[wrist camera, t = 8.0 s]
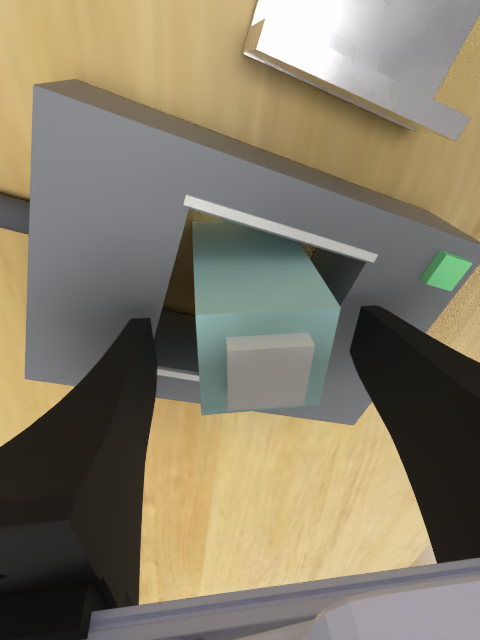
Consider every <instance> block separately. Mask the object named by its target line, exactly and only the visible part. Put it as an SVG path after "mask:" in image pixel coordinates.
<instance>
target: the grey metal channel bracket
mask: <svg viewBox="0 0 480 640" xmlns="http://www.w3.org/2000/svg"><path fill="white" fill-rule="evenodd" d="M479 14H480V0H257V2H256V6H255V9H254V13H253V16H252V20H251V23H250V27H249V31H248V34H247V38H246V41H245V45H244V48H243V52H242V54H243V55H245V56H247V57H249V58H252V59H254V60H256V61H258V62H260V63H263V64H265V65H267V66H269V67H272V68H274V69H276V70H278V71H280V72H283V73H285V74H287V75H289V76H292V77H294V78H296V79H298V80H300V81H303V82H305V83H307V84H309V85H311V86H314V87H316V88H318V89H320V90H323V91H325V92H327V93H329V94H331V95H334V96H336V97H338V98H340V99H343V100H345V101H347V102H349V103H351V104H354V105H356V106H358V107H360V108H363V109H365V110H367V111H369V112H371V113H374V114H376V115H378V116H380V117H383V118H385V119H387V120H389V121H391V122H394V123H396V124H398V125H400V126H402V127H405V128H407V129H409V130H413V131H416V130H419V131H422V132H426V133H429V134H433V135H437V136H440V137H444V138H447V139H451V140H454V141H457V139H458V138H459V136H460V135H461V133H462V131H463V130H464V128H465V126H466V125H467V123H468V122H469V120H470V118H471V117H469V116H467V115H465V114H463V113H461V112H459V111H457V110H454V109H452V108H450V107H448V106H446V105H444V104H442V103H440V102H438V101H436V100H434V99H433V98H434V96H435V94H436V93H437V91H438V89H439V87H440V85H441V84H442V82H443V80H444V78H445V76H446V74H447V73H448V71H449V69H450V67H451V65H452V64H453V62H454V60H455V58H456V56H457V54H458V53H459V51H460V49H461V47H462V45H463V44H464V42H465V40H466V38H467V36H468V34H469V33H470V31H471V29H472V27H473V25H474V24H475V22H476V20H477V18H478V16H479Z"/></svg>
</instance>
